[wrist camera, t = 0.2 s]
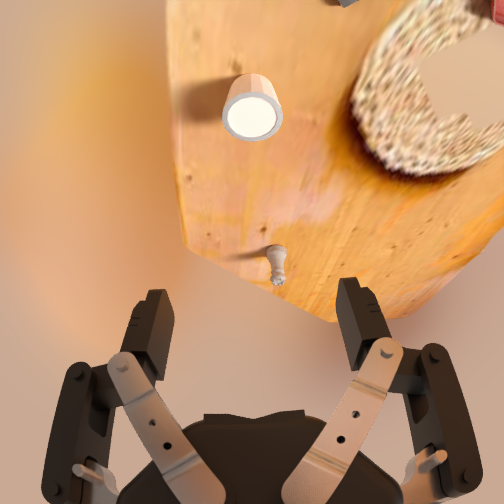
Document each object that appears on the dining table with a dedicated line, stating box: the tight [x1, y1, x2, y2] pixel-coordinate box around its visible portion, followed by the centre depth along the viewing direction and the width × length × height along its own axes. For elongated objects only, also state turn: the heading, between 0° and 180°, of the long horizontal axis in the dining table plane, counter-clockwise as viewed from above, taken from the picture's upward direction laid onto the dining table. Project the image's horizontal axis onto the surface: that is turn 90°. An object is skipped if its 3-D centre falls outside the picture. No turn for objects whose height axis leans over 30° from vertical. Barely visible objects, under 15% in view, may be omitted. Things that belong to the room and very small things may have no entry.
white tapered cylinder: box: [222, 73, 283, 142], centre depth 34 cm, size 7×7×7 cm
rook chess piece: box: [266, 245, 287, 286], centre depth 64 cm, size 4×4×8 cm
